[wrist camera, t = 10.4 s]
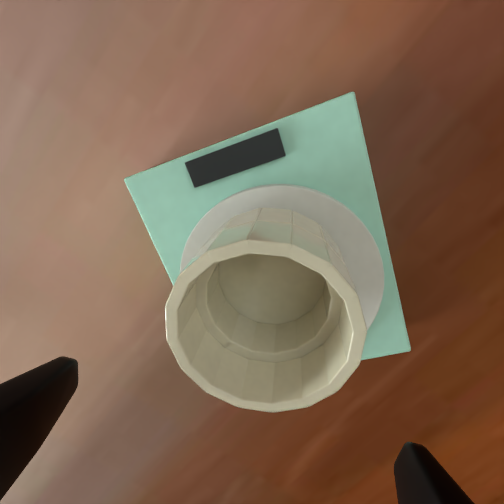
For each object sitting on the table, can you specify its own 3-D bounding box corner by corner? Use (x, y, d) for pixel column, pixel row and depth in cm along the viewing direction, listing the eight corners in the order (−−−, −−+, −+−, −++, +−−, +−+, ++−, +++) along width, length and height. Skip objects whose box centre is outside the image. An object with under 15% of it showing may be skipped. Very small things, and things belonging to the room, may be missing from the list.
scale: (399, 329, 18) (415, 359, 16) (226, 364, 21) (217, 394, 18) (346, 95, 14) (357, 88, 12) (141, 173, 17) (116, 180, 14)
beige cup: (357, 316, 15) (384, 396, 11) (231, 343, 17) (207, 423, 12) (321, 185, 13) (336, 213, 9) (182, 229, 15) (132, 273, 10)
